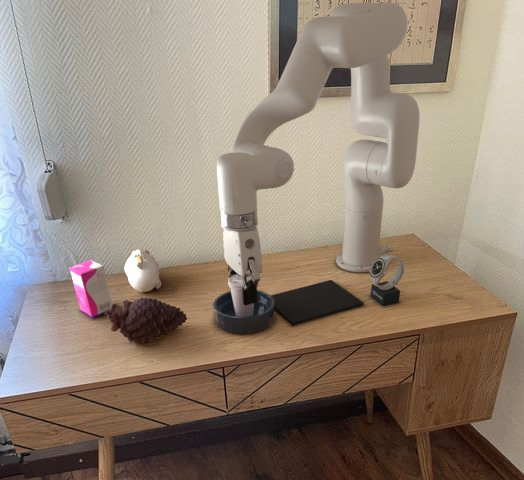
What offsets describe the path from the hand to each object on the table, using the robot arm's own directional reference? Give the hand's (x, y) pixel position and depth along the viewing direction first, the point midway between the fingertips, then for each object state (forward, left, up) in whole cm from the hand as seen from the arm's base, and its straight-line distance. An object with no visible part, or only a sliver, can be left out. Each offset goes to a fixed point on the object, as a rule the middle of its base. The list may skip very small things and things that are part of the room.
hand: (243, 296), depth 116 cm
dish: (0, 0, -6) cm, 6 cm away
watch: (-33, +8, -6) cm, 34 cm away
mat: (-18, +1, -6) cm, 18 cm away
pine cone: (+21, -3, -6) cm, 22 cm away
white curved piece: (+15, -29, -6) cm, 33 cm away
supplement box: (+29, -21, -6) cm, 36 cm away
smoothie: (0, 0, -6) cm, 6 cm away
